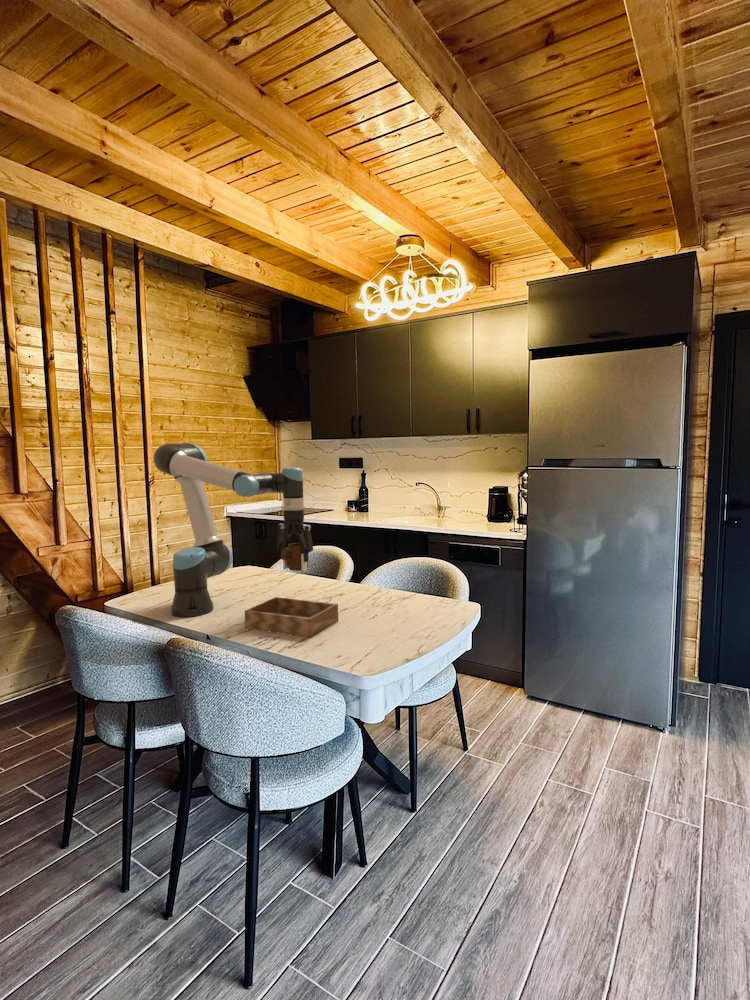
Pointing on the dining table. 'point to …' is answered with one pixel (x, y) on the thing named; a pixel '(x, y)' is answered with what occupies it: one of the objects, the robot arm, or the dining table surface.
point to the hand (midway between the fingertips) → (295, 569)
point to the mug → (293, 556)
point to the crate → (278, 620)
